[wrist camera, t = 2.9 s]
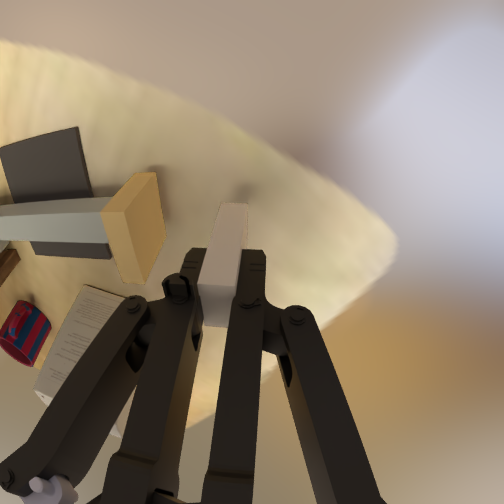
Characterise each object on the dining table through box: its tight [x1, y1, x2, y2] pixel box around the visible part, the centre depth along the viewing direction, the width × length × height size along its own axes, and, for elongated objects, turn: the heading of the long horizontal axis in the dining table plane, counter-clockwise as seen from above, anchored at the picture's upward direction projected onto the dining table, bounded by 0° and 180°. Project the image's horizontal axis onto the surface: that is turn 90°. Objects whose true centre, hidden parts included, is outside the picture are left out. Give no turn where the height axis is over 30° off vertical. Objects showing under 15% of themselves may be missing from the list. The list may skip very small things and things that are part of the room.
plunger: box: [0, 172, 167, 284], centre depth 18 cm, size 22×9×6 cm, turn 90°
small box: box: [33, 285, 136, 438], centre depth 24 cm, size 8×6×13 cm
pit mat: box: [0, 127, 112, 260], centre depth 20 cm, size 10×12×1 cm
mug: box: [0, 301, 51, 367], centre depth 29 cm, size 7×10×7 cm
